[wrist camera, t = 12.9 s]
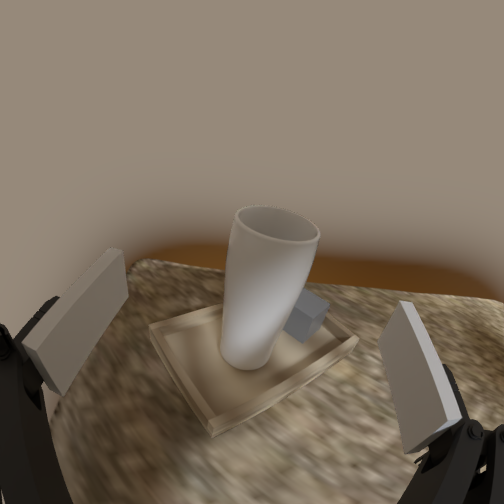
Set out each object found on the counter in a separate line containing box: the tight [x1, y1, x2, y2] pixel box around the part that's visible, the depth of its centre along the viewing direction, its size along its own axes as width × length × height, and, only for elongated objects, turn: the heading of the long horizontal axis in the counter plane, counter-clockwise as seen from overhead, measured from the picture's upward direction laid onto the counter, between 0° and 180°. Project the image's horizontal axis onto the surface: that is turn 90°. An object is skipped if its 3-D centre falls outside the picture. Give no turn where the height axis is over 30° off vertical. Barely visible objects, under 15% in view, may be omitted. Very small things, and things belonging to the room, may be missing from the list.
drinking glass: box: [220, 205, 320, 370], centre depth 24 cm, size 7×7×15 cm
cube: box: [283, 288, 330, 344], centre depth 32 cm, size 4×4×4 cm
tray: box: [148, 303, 360, 438], centre depth 29 cm, size 20×13×2 cm, turn 127°
